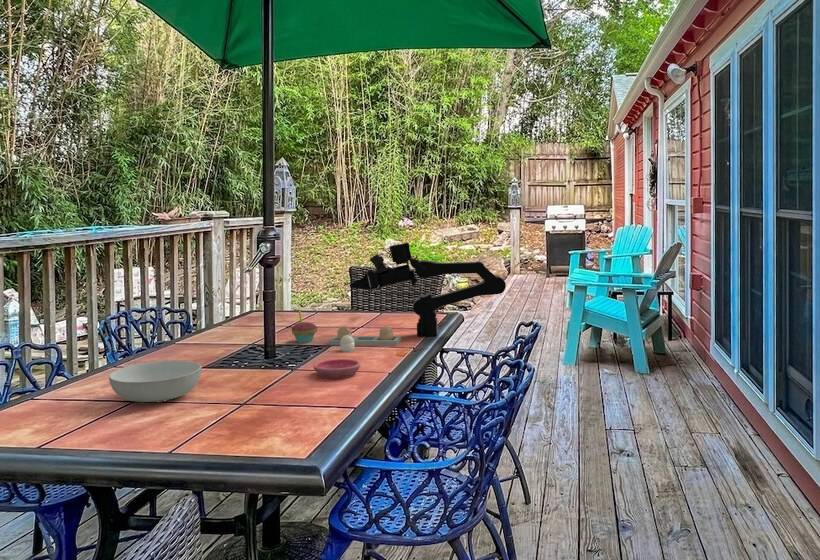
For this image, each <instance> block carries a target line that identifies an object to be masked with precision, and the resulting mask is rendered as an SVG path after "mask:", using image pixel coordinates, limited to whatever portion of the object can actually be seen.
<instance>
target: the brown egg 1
mask: <svg viewBox="0 0 820 560" xmlns="http://www.w3.org/2000/svg"><path fill="white" fill-rule="evenodd" d="M345 335H350V336H352V332H351V329H350V327H348V326H341V327H339V328H338V330H337V333H336V336H337V337H338V340H341V338H342V337H343V336H345Z"/></svg>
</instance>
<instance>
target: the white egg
mask: <svg viewBox="0 0 820 560" xmlns="http://www.w3.org/2000/svg"><path fill="white" fill-rule="evenodd" d="M352 336H353V335H351V336H350V335H345V336H343V337H342V338H341V340H340V345H339V346H340V352H343V353H350V352H354V351H355V350H356V347H355V346H356V345H355V342H354V339H353V337H352Z"/></svg>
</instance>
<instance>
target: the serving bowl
mask: <svg viewBox="0 0 820 560" xmlns="http://www.w3.org/2000/svg"><path fill="white" fill-rule="evenodd" d="M201 376H202V365H201V364H200V363H198V362H195V361H189V360H158V361H157V360H156V361H150V362H149V361H147V362H143V363H142V362H141V363H135V364H131V365H128V366H127V365H126V366H125V367H122V368H118V369H115V370H113V371H112V372H110V373H109V375H108V380H109V384H110V386H111V389H112V390H113V392H114V393H115V394H116V395H117V396H118V397H120V398H122V399H123V400H126V401H131V402H137V403H144V402H157V401H164V400H168V401H170V400H169V399H172V400H174V399H176V398H178V397H181V396H184V395H186V394H188V393H190V392H191V391H192V390H193V389H195V387H196V386H197V385H198V383H199V382H200V379H201ZM173 398H174V399H173ZM164 402H165V401H164ZM157 403H158V402H157Z"/></svg>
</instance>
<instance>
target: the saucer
mask: <svg viewBox="0 0 820 560" xmlns="http://www.w3.org/2000/svg"><path fill="white" fill-rule="evenodd" d="M360 368H361V361H359V360H357V359H349V358H337V359H336V358H335V359H334V358H333V359H327V360H322V361H319V362H316V363H315V364H313V370H314V371H315V372H316V373H317V375H319V377H321V378H324V379H333V380H337V379H345V378H350V377H353V376H354V375H356V373H357V372H358V371H359V369H360Z"/></svg>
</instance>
